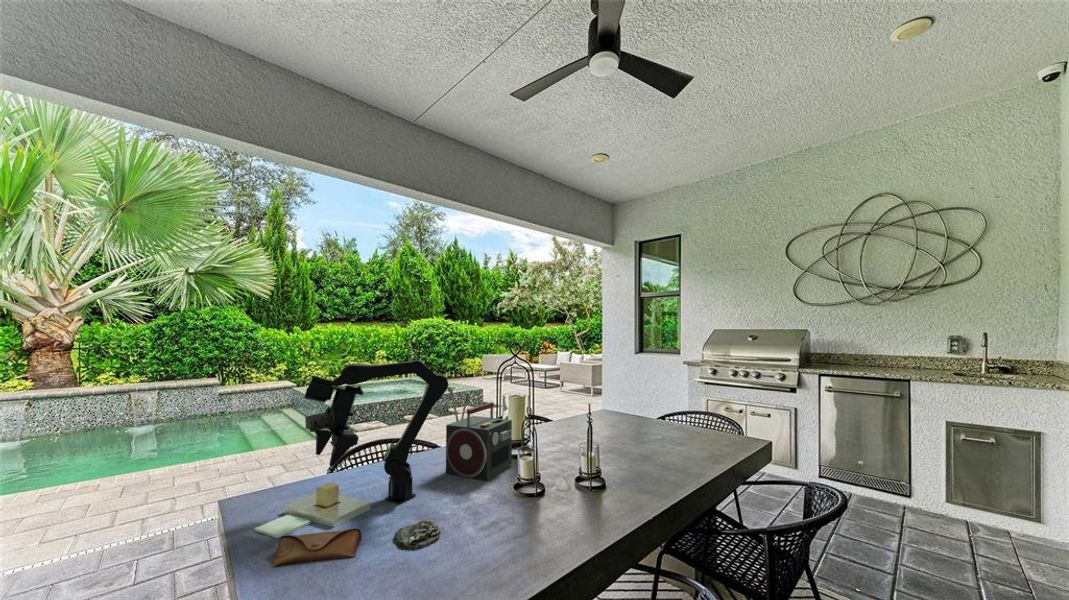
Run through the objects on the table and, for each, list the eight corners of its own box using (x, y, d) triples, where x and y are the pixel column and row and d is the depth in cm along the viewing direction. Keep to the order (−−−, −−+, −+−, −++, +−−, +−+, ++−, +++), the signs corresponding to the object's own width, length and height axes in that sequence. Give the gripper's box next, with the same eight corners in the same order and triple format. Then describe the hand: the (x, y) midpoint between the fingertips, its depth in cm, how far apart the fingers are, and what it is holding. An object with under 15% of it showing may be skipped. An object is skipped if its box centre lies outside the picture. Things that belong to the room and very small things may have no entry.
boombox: (490, 482, 144) (490, 391, 146) (439, 473, 153) (440, 387, 155) (515, 466, 160) (515, 384, 162) (468, 459, 169) (469, 381, 171)
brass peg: (338, 509, 122) (338, 484, 123) (325, 515, 119) (326, 489, 119) (328, 507, 124) (328, 482, 125) (315, 512, 121) (316, 487, 121)
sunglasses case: (266, 569, 92) (272, 534, 96) (274, 571, 98) (280, 538, 102) (357, 557, 97) (359, 524, 101) (360, 559, 103) (362, 528, 107)
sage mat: (310, 523, 114) (310, 520, 114) (277, 538, 106) (277, 535, 106) (288, 516, 118) (288, 514, 118) (254, 530, 110) (254, 528, 110)
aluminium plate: (369, 509, 123) (370, 502, 123) (333, 527, 112) (334, 519, 112) (321, 497, 131) (321, 490, 131) (283, 512, 120) (283, 505, 121)
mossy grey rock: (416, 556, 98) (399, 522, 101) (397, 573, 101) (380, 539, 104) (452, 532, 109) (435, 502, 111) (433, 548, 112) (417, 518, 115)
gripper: (301, 395, 127) (283, 449, 125) (329, 412, 115) (309, 472, 113) (337, 399, 136) (321, 449, 133) (366, 416, 123) (349, 471, 121)
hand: (324, 460), depth 125 cm, fingers open, 9 cm apart
